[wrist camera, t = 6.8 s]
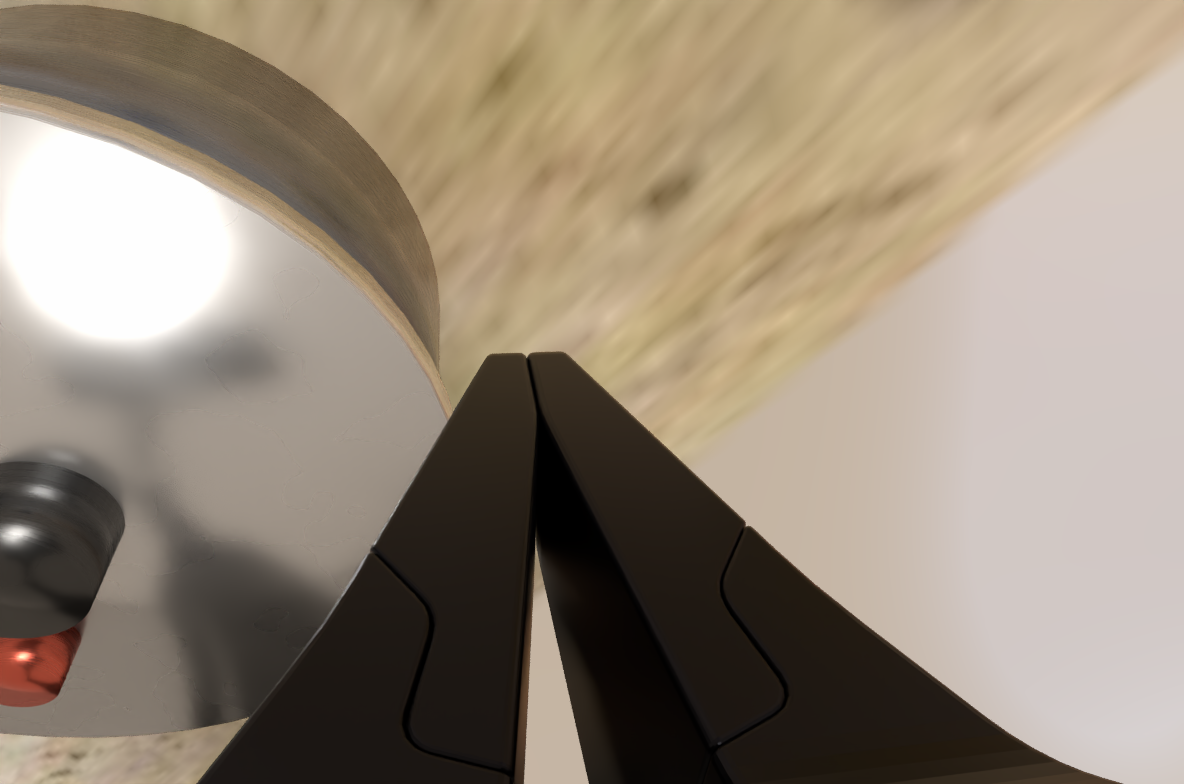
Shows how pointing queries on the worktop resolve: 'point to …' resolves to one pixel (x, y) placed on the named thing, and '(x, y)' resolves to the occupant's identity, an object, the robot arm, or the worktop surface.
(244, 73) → the cooker pot
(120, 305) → the cooker lid
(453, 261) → the worktop surface
